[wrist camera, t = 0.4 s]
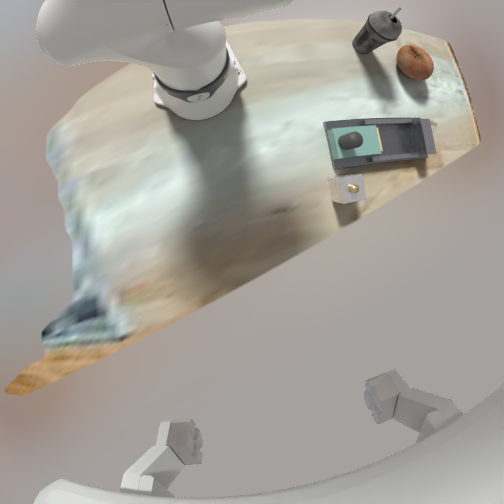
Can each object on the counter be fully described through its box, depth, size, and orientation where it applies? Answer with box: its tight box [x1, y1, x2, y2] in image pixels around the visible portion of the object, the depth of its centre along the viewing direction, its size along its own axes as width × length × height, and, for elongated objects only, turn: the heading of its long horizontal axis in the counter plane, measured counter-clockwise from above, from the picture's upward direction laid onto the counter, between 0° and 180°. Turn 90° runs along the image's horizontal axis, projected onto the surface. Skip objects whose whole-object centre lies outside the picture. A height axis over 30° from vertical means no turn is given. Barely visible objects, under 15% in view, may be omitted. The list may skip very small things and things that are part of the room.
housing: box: [328, 174, 366, 204], centre depth 50 cm, size 5×5×7 cm
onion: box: [397, 45, 434, 80], centre depth 42 cm, size 10×9×10 cm
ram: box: [327, 125, 383, 159], centre depth 46 cm, size 6×11×8 cm, turn 102°
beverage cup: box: [352, 8, 402, 54], centre depth 35 cm, size 7×7×20 cm
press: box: [324, 118, 436, 169], centre depth 48 cm, size 10×26×6 cm, turn 102°
